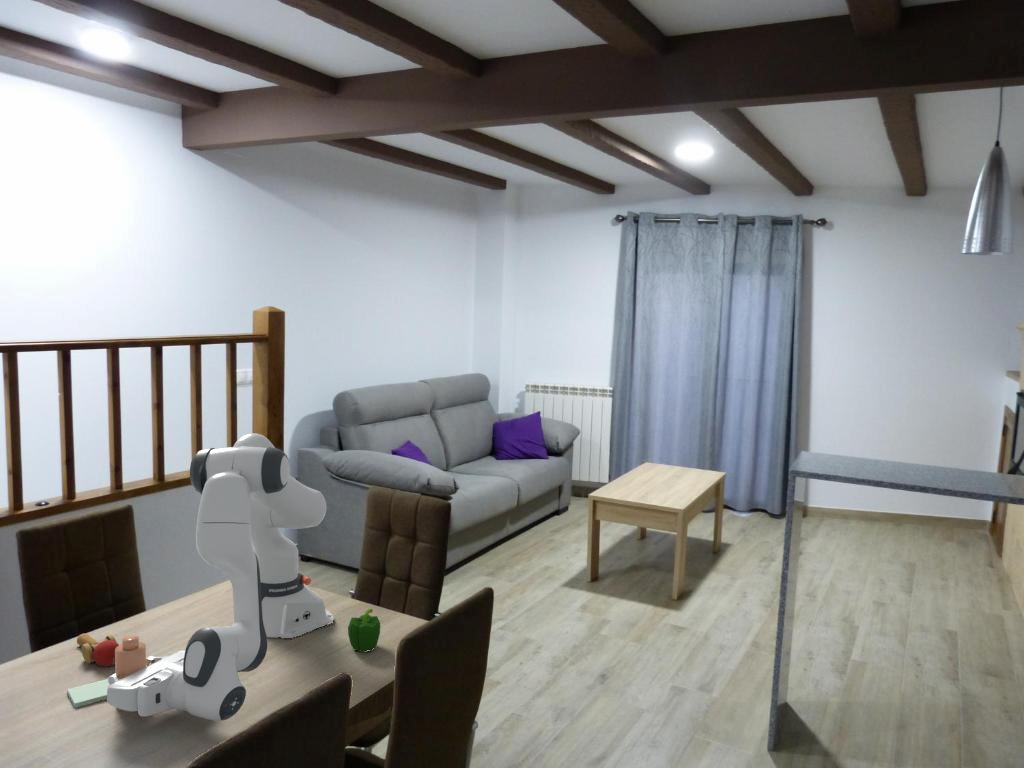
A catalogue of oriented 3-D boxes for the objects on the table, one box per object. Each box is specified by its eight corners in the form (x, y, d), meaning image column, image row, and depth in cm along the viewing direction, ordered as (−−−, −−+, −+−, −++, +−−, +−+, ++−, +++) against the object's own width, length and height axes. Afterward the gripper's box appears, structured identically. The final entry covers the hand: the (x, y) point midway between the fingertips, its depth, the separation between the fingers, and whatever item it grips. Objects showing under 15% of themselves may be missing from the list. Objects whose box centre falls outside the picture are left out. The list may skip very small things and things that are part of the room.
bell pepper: (359, 659, 200) (360, 621, 199) (342, 647, 206) (342, 610, 205) (387, 650, 206) (388, 612, 205) (370, 638, 212) (370, 602, 211)
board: (161, 669, 191) (161, 665, 190) (171, 681, 185) (171, 677, 185) (67, 693, 178) (67, 689, 178) (74, 707, 172) (74, 703, 172)
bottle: (141, 694, 179) (141, 630, 177) (149, 706, 174) (149, 640, 172) (112, 702, 175) (111, 637, 173) (120, 714, 170) (119, 647, 169)
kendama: (63, 656, 198) (93, 670, 186) (66, 629, 199) (96, 643, 187) (96, 652, 204) (127, 666, 192) (99, 626, 205) (129, 639, 193)
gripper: (213, 650, 177) (168, 637, 183) (136, 691, 159) (88, 674, 164) (213, 677, 178) (168, 663, 184) (136, 721, 159) (88, 703, 165)
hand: (129, 669), depth 174 cm, fingers open, 8 cm apart
